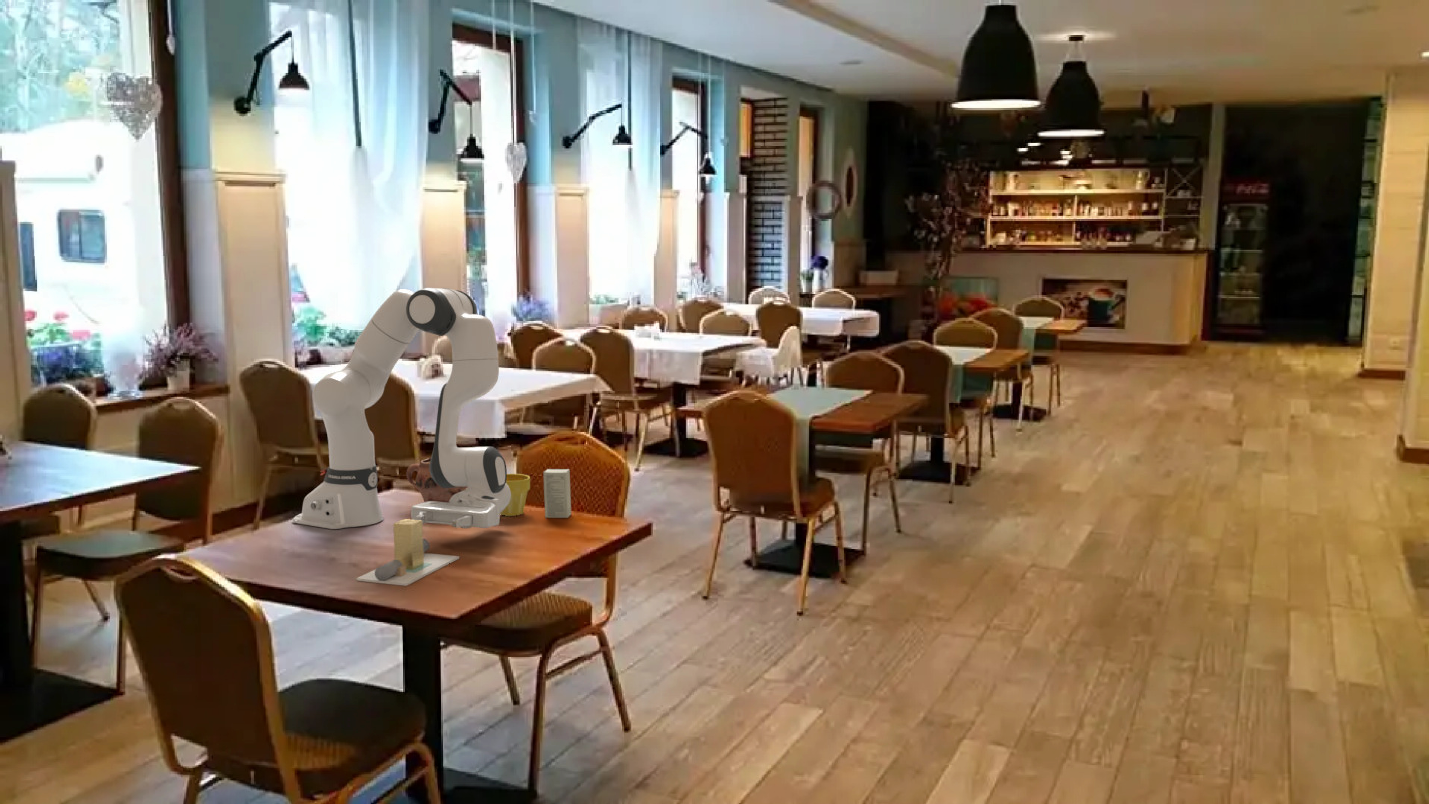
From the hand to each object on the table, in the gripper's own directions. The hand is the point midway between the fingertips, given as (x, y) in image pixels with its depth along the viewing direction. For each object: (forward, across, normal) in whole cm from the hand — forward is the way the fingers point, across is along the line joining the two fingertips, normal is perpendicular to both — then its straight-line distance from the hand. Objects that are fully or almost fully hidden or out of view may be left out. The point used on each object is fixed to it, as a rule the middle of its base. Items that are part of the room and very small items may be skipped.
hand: (436, 522), depth 268 cm
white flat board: (+12, 0, +8) cm, 14 cm away
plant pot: (-42, -3, +8) cm, 43 cm away
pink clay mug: (-40, -23, +8) cm, 47 cm away
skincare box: (-43, +10, +8) cm, 45 cm away
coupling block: (+12, 0, +7) cm, 14 cm away
